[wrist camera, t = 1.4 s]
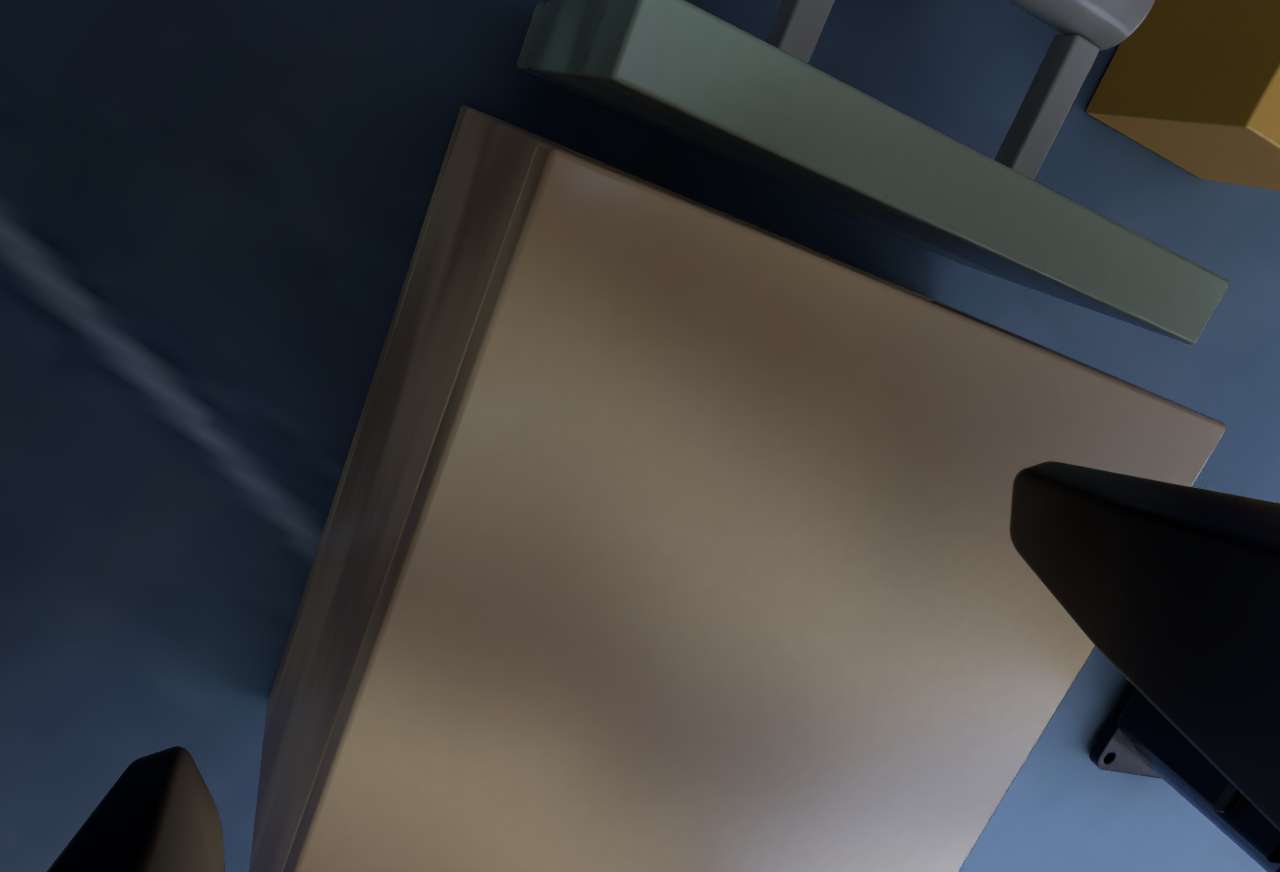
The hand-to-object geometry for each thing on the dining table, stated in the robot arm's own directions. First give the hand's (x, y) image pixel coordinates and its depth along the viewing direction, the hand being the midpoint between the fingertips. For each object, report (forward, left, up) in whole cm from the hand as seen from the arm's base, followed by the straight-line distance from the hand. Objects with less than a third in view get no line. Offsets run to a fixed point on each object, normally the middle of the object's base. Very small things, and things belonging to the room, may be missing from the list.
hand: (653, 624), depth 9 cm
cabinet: (-4, +3, -12) cm, 13 cm away
